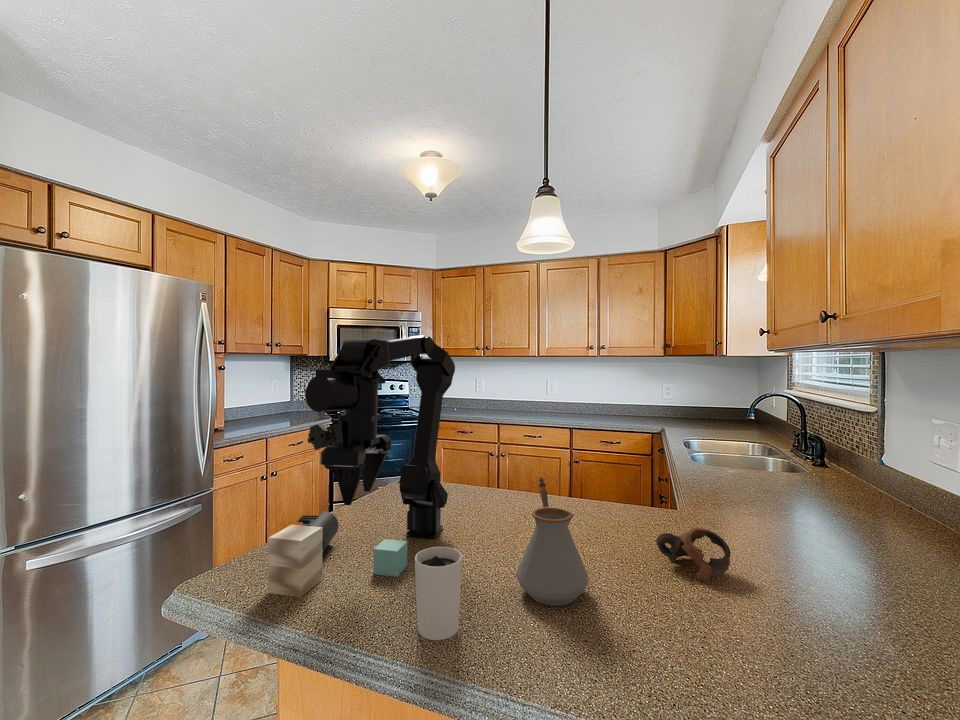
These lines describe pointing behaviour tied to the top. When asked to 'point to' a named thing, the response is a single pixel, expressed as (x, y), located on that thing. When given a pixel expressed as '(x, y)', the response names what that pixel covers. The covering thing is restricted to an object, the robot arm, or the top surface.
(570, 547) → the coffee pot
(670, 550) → the brown curved piece
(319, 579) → the tower bottom block
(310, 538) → the tower middle block
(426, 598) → the white cup
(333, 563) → the top surface
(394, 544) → the teal block
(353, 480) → the robot arm
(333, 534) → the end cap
